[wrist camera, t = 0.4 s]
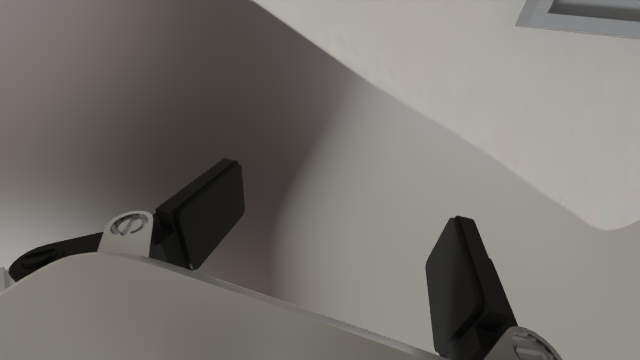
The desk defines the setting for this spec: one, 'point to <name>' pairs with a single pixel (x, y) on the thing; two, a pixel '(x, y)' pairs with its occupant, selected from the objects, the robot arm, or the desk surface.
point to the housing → (584, 16)
